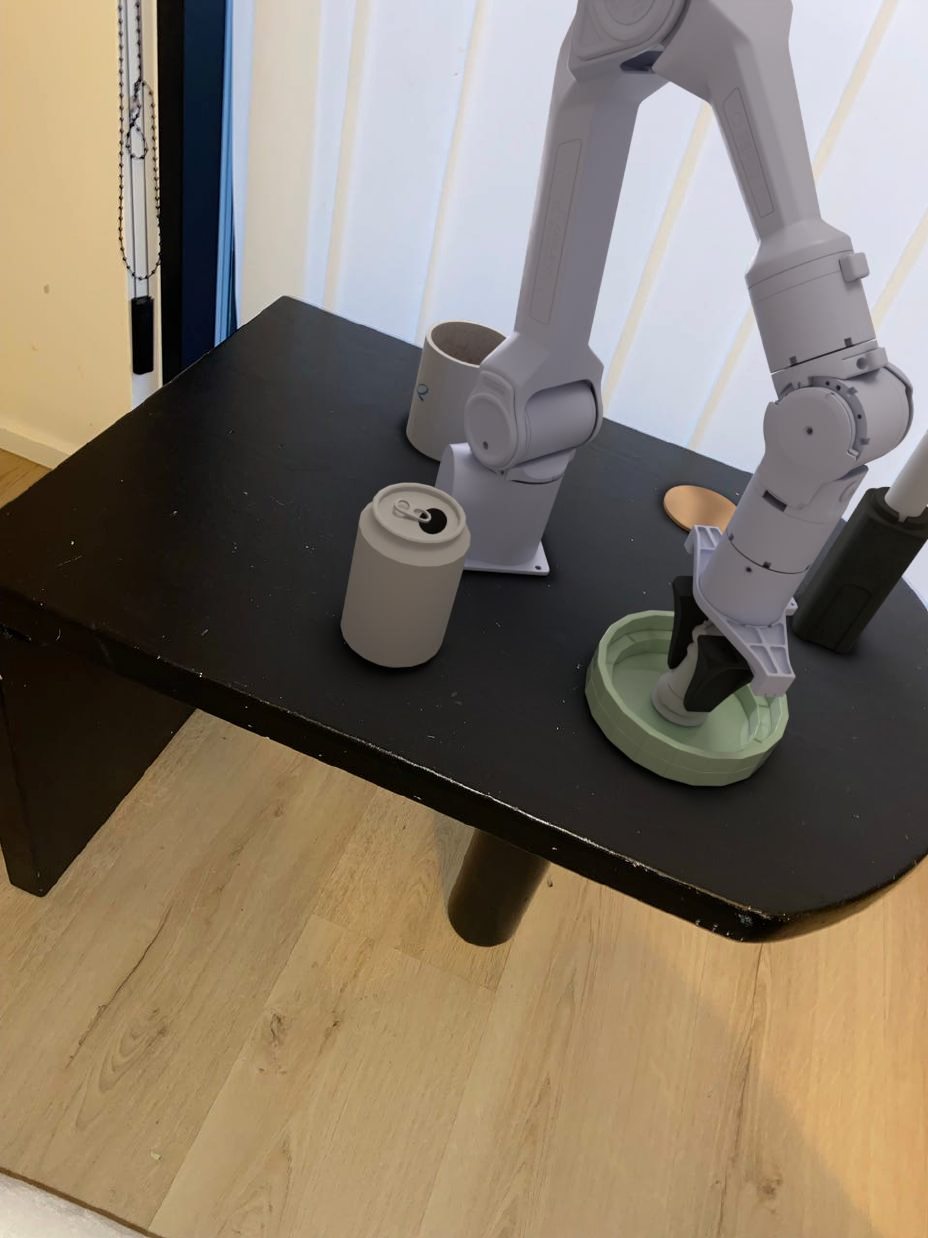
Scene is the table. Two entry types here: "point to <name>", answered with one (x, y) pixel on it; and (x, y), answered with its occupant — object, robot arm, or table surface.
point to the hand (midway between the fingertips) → (688, 687)
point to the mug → (447, 382)
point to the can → (404, 574)
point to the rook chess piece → (681, 684)
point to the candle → (867, 558)
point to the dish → (675, 752)
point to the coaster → (698, 507)
